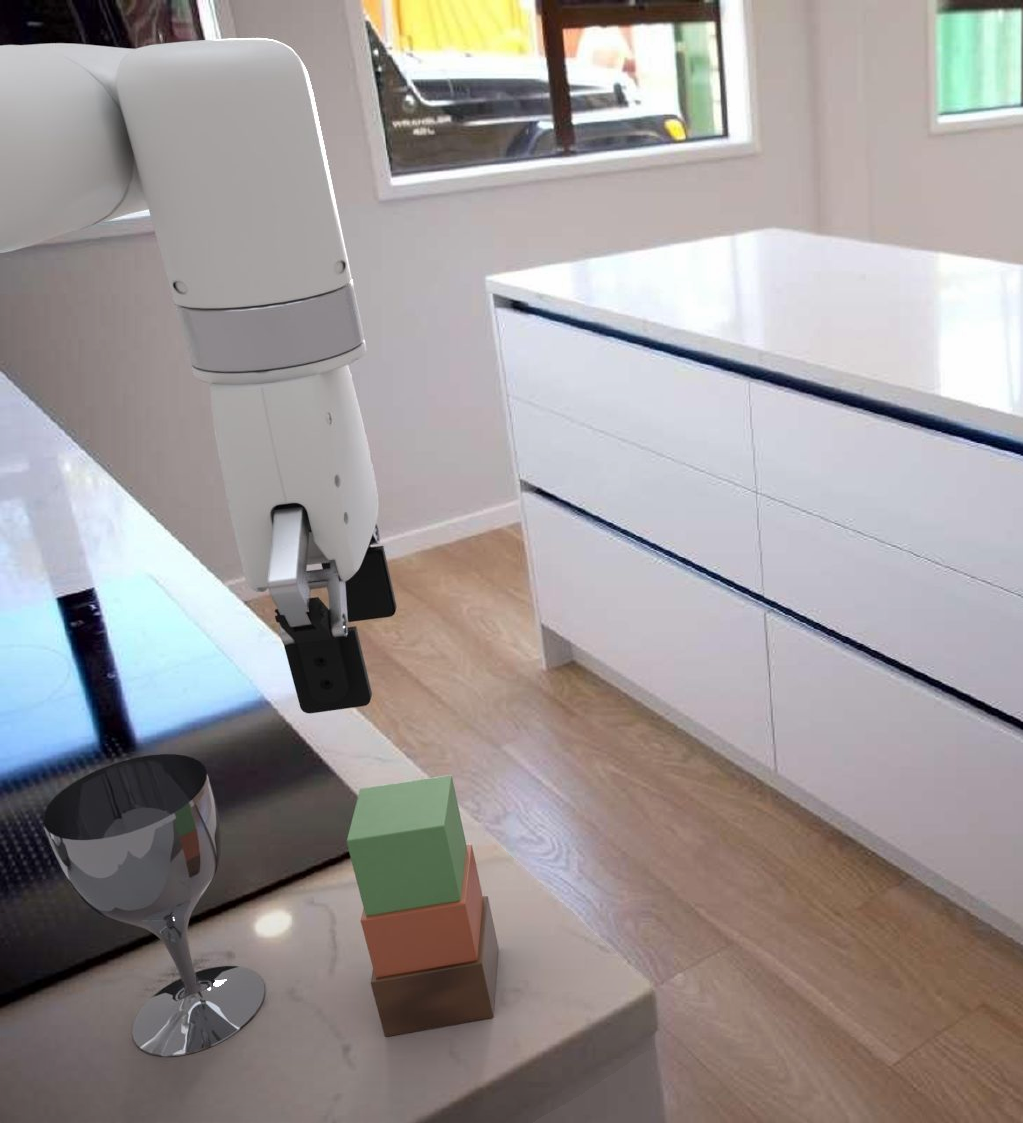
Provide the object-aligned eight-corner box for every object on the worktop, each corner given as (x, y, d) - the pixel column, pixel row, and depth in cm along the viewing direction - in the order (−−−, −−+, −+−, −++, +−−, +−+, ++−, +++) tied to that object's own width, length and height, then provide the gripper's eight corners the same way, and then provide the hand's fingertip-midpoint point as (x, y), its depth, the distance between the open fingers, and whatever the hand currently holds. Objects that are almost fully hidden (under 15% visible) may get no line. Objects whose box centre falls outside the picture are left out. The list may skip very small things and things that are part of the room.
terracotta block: (375, 978, 70) (360, 920, 68) (387, 914, 75) (373, 858, 73) (477, 960, 71) (465, 903, 69) (483, 898, 76) (471, 843, 74)
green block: (365, 917, 69) (346, 841, 67) (377, 860, 73) (359, 787, 71) (460, 901, 69) (444, 825, 67) (467, 846, 74) (451, 774, 72)
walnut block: (384, 1037, 71) (369, 982, 70) (397, 964, 77) (383, 912, 75) (493, 1018, 72) (481, 963, 71) (498, 947, 78) (487, 894, 76)
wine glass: (301, 988, 75) (238, 775, 69) (179, 1082, 69) (98, 857, 63) (217, 946, 79) (151, 740, 73) (94, 1031, 73) (10, 814, 67)
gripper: (233, 298, 65) (308, 598, 72) (128, 392, 50) (237, 761, 57) (384, 285, 67) (443, 581, 74) (328, 372, 51) (410, 736, 58)
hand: (353, 659), depth 65 cm, fingers open, 9 cm apart
